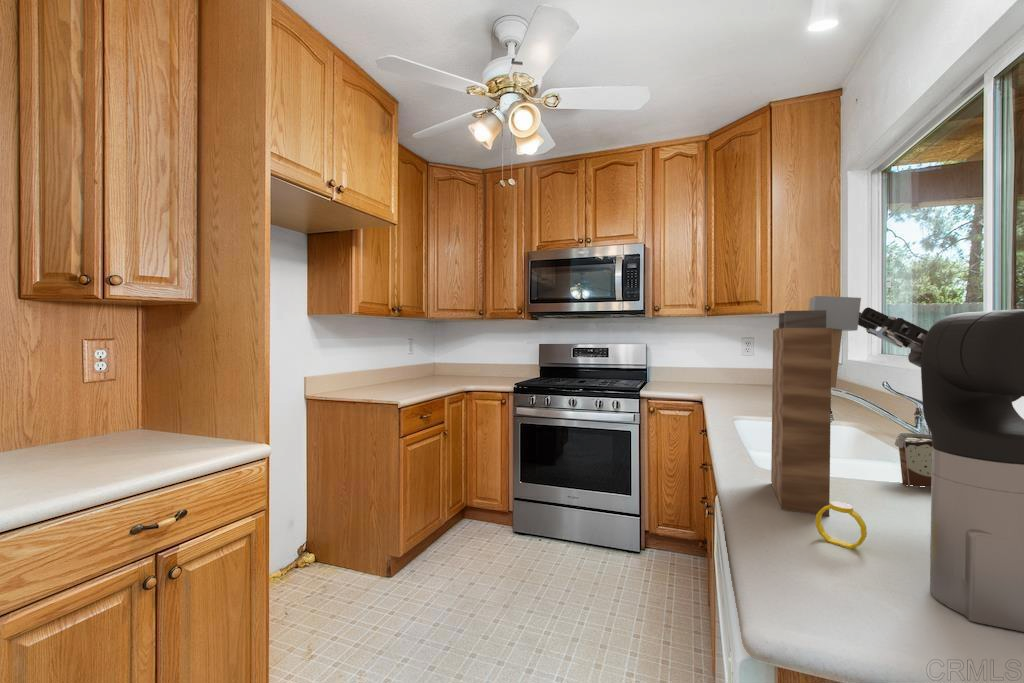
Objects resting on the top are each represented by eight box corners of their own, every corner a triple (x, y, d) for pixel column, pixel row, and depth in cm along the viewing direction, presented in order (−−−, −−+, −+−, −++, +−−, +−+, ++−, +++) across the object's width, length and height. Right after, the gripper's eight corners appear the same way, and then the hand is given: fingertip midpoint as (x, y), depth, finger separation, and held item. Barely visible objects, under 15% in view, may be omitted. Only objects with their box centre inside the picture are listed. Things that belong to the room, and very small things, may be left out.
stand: (829, 516, 77) (832, 310, 77) (781, 509, 80) (784, 310, 79) (810, 488, 91) (813, 314, 91) (771, 483, 94) (773, 315, 94)
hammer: (806, 384, 86) (850, 389, 84) (815, 295, 86) (861, 297, 83) (800, 381, 92) (842, 386, 89) (810, 298, 91) (852, 300, 88)
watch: (866, 550, 65) (871, 510, 64) (860, 556, 63) (865, 515, 63) (818, 533, 70) (822, 495, 69) (811, 538, 68) (815, 499, 67)
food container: (940, 479, 98) (941, 433, 98) (966, 489, 91) (967, 440, 91) (879, 477, 99) (880, 432, 99) (900, 486, 93) (901, 438, 93)
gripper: (956, 378, 75) (853, 329, 81) (920, 372, 88) (834, 330, 94) (987, 339, 73) (880, 292, 79) (946, 339, 86) (857, 299, 92)
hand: (855, 313), depth 86 cm, fingers open, 8 cm apart
